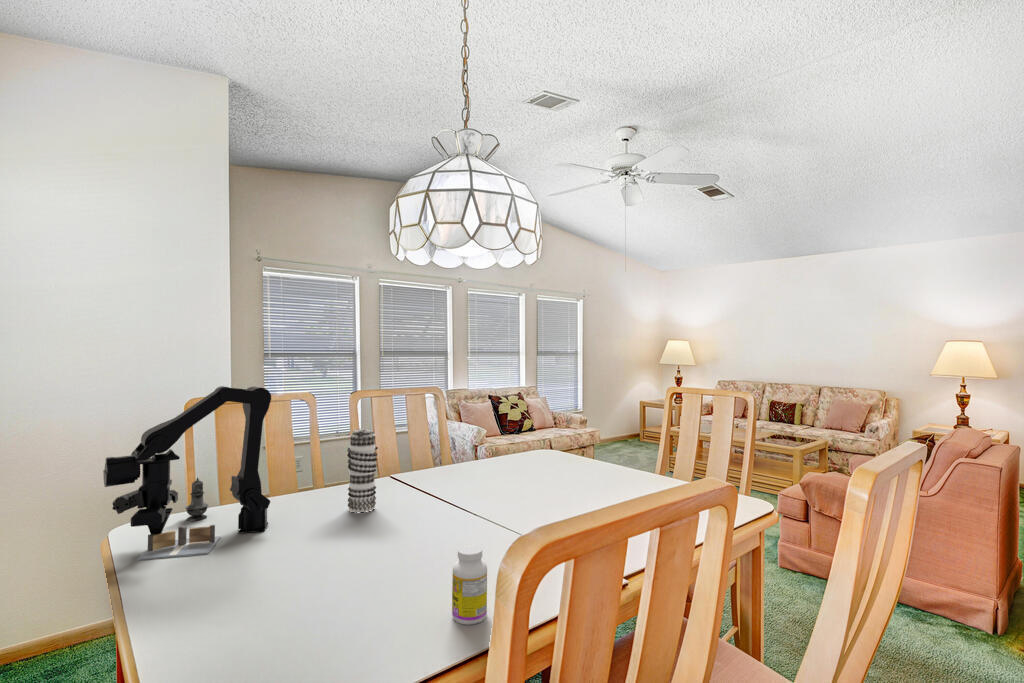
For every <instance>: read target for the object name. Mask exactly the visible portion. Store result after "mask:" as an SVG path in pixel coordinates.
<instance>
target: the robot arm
mask: <svg viewBox="0 0 1024 683" xmlns="http://www.w3.org/2000/svg"><path fill="white" fill-rule="evenodd" d="M228 402H230V403H231V402H232V403H240V404H242V410H243V414H244V418H245V422H244V430H243V431H244V432H243V442H242V450H241V460H240V469H239V472H238V473H237V475H231V486H230V488H229V491H230V492H232V493H231V495H232V497H233V498H234V499H235V500H237V501H238V502H239V504H240V506H241V508H240V512H239V514H238V516H237V518H238V519H237V520H238V523H237V527H238V528H237V529H238V530H239V531H238V534H244V533H258V532H265V531H266V529H267V528H268V525H269V522H268V508H269V506H270V504H271V500H270V499H269V498H267V497H266V496H265V495H264V494H263V492H262V491H263V490H262V480H261V477H260V473H259V463H260V452H261V443H262V434H263V425H264V424H263V423H264V419H265V417H266V415H267V413H268V412H269V409H270V405H271V402H272V394H271V392H270V391H269V390H268V389H266V388H265V387H259V386H250V387H247V388H245V389H244V388H238V387H237V388H236V387H230V386H224V385H222V386H217V387H216V388H215V390H214V391H212V392H211V393H209V394H207V395H206V396H205V397H203V398H202V399H200V400H199V401H197V402H196V403H194V404H193V405H192V406H190V407H189V408H187V409H186V410H184V411H182V412H181V413H179V414H178V415H176V417H174V418H171V419H169V420H167V421H163V422H160V423H159V424H156V425H155V426H153V427H151V428H148V429H147V430H145V431H144V432H143V433H142V435H141V437H140V443H139V444H138V445H137V447H135V449H134V450H133V451H132V452H131V454H130V455H124V456H123V455H121V456H107V457H105V464H104V470H103V469H102V470H103V474H102V475H103V476H102V477H103V484H104V485H103V486H104V488H108V487H109V488H110V487H114V486H115V487H116V486H121V485H128V484H129V485H130V484H135V482H136V481H137V480H138V479H140V478H141V477H142V478H141V480H142V481H141V485H140V486H139V487H138V489H136V490H133V491H131V492H128V493H126V494H122V495H120V496H118V497H116V498H115V499H114V500H113V501H112V507H111V508H112V510H113V511H116V513H117V514H118V515H120V514H123V513H124V512H125V511H129V510H130V509H133V508H136V507H137V511H136V512H135V513H134V514H133V515H132V516H131V517H130V527H144V526H147V527H148V530H149V533H150V534H154V535H156V534H160V533H163V531H164V528H165V526H166V525H167V523H168V520H169V517H170V515H171V513H172V512H173V508H172V507H168V508H167V506H168V505H169V504H170V503H171V501H172V504H175V503H177V502H178V500H179V497H178V496H179V493H178V492H177V491H176V490H175V489H171V486H172V483H173V479H171V461H177V460H180V459H181V458H180V456H179V455H178V454H176V453H175V451H174V450H173V449H171V448H172V447H173V445H175V444H176V443H177V441H179V440H180V439H181V437H182V435H183V434H184V433H185V432H187V430H189V429H190V428H191V427H193V426H194V425H197V423H199V422H201V420H203V419H204V418H206V417H207V416H209V415H210V414H212V413H213V412H214V411H216V410H217V409H218V408H220V407H221V406H223V405H225V403H228ZM141 465H142V466H141ZM141 467H142V469H141ZM141 470H142V471H141ZM141 472H142V474H141ZM150 534H149V535H150Z"/></svg>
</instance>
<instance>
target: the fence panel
mask: <svg viewBox="0 0 1024 683" xmlns="http://www.w3.org/2000/svg"><path fill="white" fill-rule="evenodd" d="M175 540H176V530H171V531H165V532H162V533H160V534H156V535H154V534H148V535H147V550H148V551H153V550H158V549H162V548H166V547H170V546H174V545H175Z"/></svg>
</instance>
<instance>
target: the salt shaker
mask: <svg viewBox="0 0 1024 683" xmlns="http://www.w3.org/2000/svg"><path fill="white" fill-rule="evenodd" d="M204 494H205V491H204V481H201V480H200V479H199V477H197V478H196V480H194V481H193V482H192V483H191V492H190V494H189V495H190V496H191V497H190V498H191V500H190V504H189V505H186V506H185V510H186V513H187V514H188V517H186V521H187V522H198V521H202V520H205V519H207V518H208V516H207V515H206V514H205V513H206V512H207V510H208V507H209V503H207V502H205V501H204Z"/></svg>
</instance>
